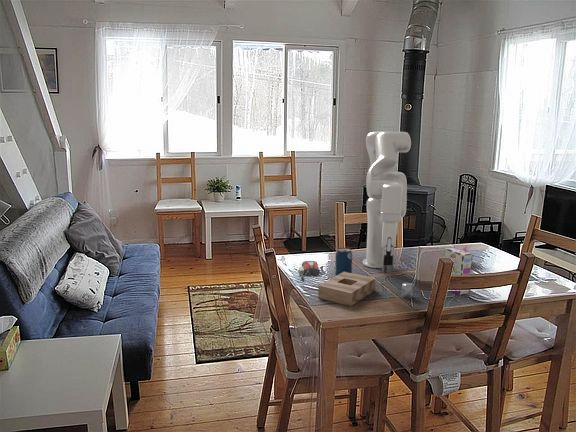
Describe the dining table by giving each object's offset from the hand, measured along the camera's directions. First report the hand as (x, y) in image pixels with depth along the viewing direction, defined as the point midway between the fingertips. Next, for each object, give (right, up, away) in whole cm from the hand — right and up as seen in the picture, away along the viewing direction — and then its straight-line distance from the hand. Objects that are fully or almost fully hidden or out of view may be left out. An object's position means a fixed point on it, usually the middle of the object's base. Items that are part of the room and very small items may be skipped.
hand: (388, 262), depth 202 cm
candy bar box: (+28, -12, +8) cm, 32 cm away
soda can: (-15, -8, +23) cm, 28 cm away
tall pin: (0, -3, +1) cm, 3 cm away
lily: (+42, -4, +42) cm, 60 cm away
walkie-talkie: (-29, -7, +27) cm, 41 cm away
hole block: (-15, -12, +3) cm, 20 cm away
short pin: (+7, -13, +1) cm, 15 cm away
